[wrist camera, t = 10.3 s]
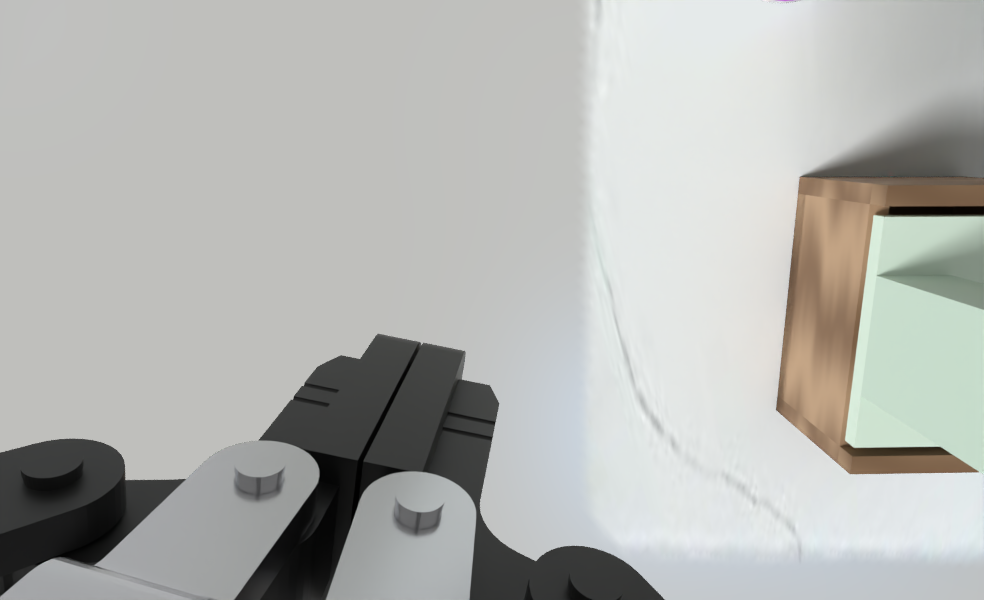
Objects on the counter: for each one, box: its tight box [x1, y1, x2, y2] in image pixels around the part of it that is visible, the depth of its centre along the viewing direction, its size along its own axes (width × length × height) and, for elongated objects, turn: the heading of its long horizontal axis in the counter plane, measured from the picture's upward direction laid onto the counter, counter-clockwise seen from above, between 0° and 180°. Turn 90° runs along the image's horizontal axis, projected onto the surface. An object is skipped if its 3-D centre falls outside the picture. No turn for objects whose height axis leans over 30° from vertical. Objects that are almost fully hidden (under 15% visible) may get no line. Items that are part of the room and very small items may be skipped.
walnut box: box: [776, 177, 984, 474], centre depth 30 cm, size 12×8×7 cm, turn 0°
